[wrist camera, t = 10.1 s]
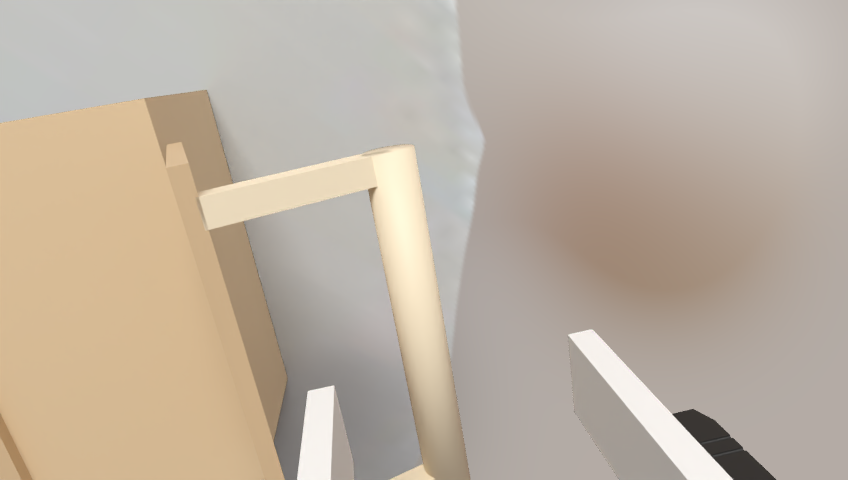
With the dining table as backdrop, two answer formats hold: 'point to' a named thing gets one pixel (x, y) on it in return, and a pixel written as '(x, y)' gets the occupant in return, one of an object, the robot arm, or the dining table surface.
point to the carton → (122, 303)
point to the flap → (404, 269)
